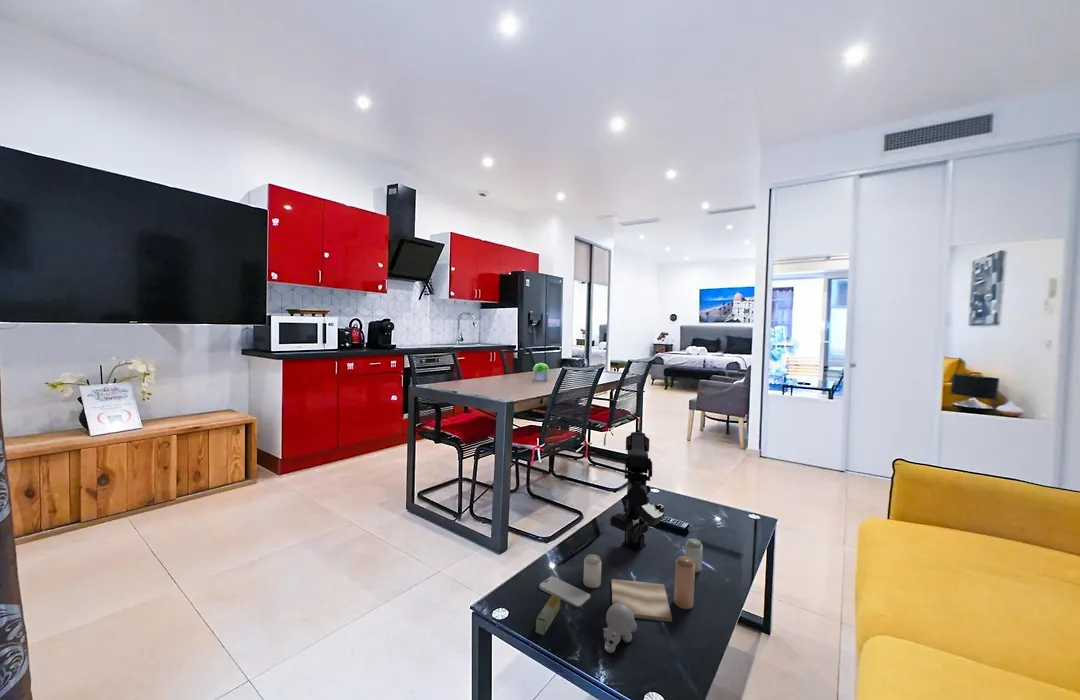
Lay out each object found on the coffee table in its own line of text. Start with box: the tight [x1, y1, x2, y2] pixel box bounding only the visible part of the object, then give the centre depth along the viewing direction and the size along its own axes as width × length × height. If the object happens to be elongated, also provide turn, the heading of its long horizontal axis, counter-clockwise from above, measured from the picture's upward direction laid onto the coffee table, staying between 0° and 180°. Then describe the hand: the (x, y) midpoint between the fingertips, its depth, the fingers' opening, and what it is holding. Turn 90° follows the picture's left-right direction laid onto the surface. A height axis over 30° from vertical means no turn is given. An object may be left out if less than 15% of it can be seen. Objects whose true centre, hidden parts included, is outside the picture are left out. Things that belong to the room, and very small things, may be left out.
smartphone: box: [538, 575, 592, 608], centre depth 132 cm, size 7×1×15 cm
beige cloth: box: [611, 578, 673, 623], centre depth 128 cm, size 16×16×1 cm
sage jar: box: [684, 538, 704, 573], centre depth 147 cm, size 5×5×9 cm
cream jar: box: [582, 553, 602, 589], centre depth 137 cm, size 5×5×8 cm
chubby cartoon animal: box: [602, 603, 638, 654], centre depth 111 cm, size 7×12×8 cm, turn 141°
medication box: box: [534, 594, 562, 636], centre depth 119 cm, size 12×3×4 cm, turn 157°
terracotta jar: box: [673, 555, 696, 610], centre depth 127 cm, size 5×5×13 cm
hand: (634, 541), depth 137 cm, fingers closed
